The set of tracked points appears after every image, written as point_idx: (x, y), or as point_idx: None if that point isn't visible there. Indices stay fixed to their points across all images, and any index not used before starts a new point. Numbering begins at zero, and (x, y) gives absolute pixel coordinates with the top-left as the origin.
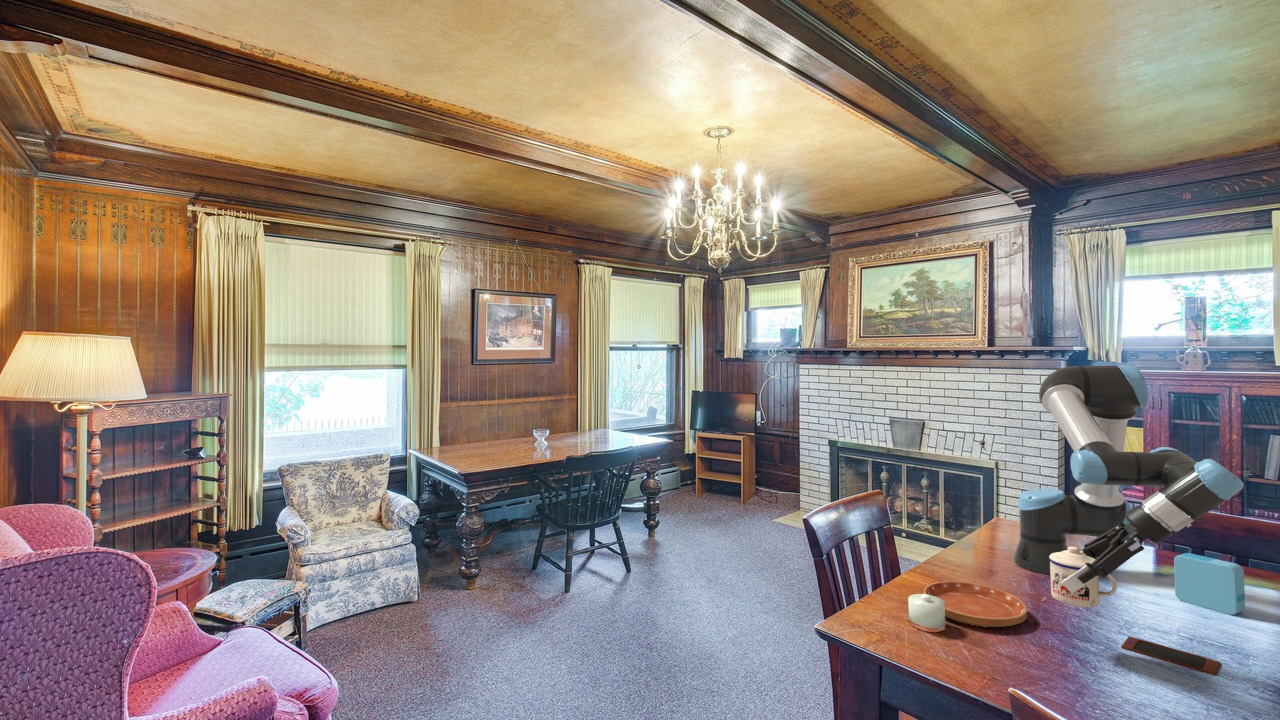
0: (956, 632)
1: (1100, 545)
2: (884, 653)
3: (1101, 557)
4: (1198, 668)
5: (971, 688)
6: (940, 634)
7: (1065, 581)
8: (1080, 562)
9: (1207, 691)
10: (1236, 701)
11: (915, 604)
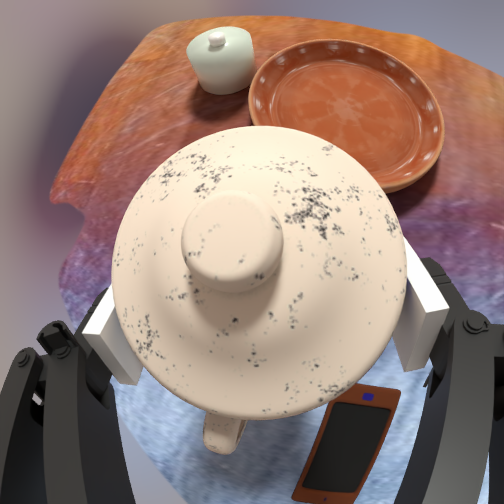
0: (223, 108)
1: (425, 475)
2: (114, 80)
3: (45, 426)
4: (299, 484)
5: (63, 175)
6: (201, 95)
7: None
8: (131, 301)
9: (214, 478)
10: (204, 499)
11: (192, 41)
